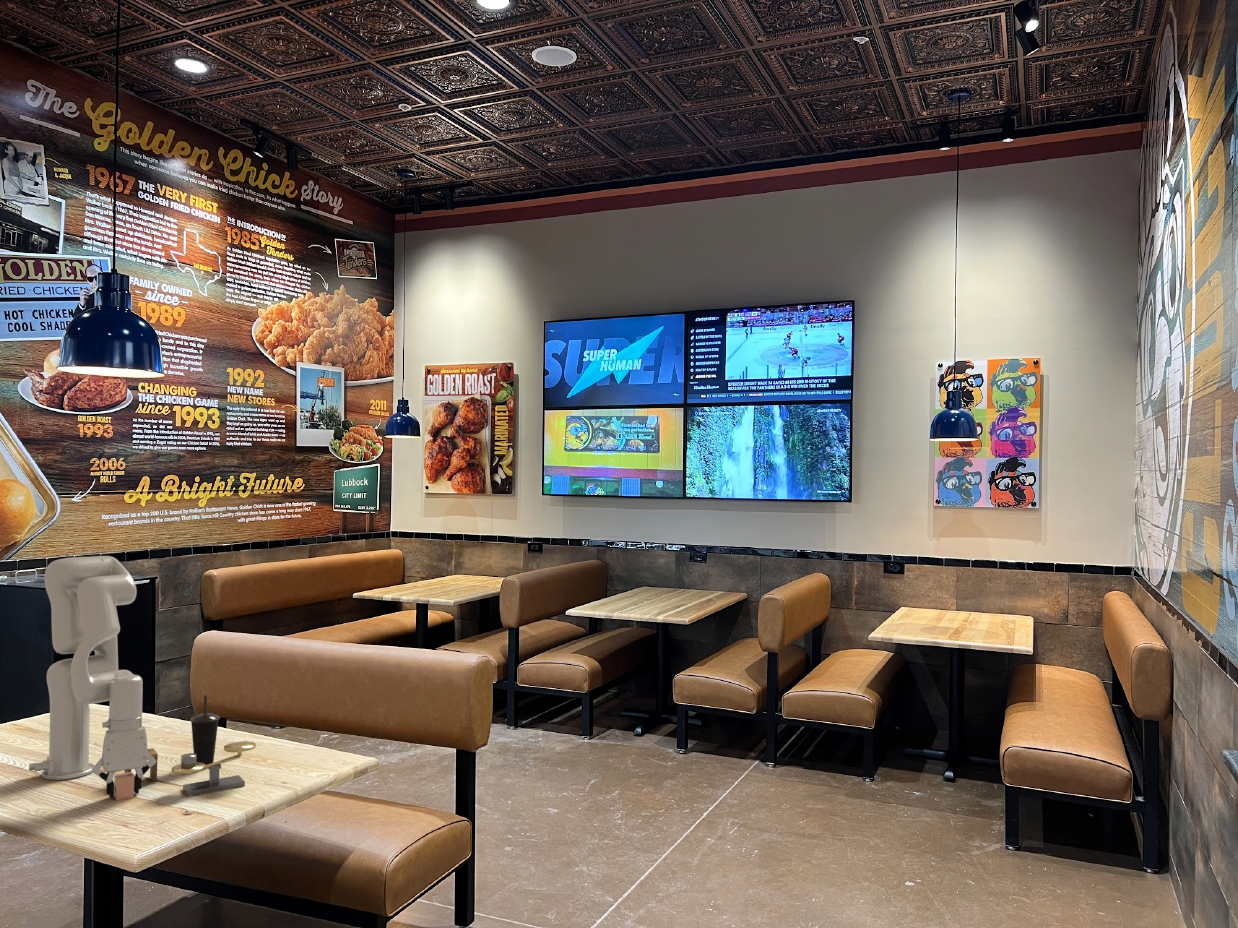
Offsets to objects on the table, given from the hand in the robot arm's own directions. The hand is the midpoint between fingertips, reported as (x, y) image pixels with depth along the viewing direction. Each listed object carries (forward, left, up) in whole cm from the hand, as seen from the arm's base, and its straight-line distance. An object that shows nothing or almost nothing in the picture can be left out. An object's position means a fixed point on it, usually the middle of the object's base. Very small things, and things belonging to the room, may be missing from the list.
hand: (123, 793), depth 235 cm
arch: (+5, +10, -1) cm, 11 cm away
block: (0, 0, -1) cm, 1 cm away
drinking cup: (+22, +15, -1) cm, 27 cm away
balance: (+20, -6, -1) cm, 21 cm away
